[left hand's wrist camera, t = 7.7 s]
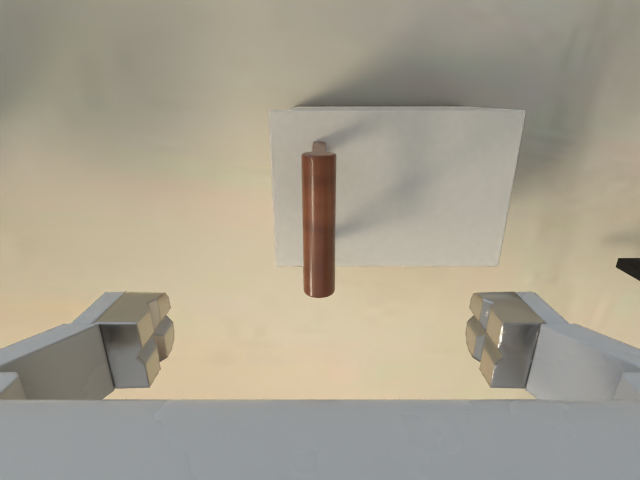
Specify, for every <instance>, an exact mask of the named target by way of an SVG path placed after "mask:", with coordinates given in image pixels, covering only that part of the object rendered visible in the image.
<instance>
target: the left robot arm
mask: <svg viewBox="0 0 640 480" xmlns="http://www.w3.org/2000/svg"><path fill="white" fill-rule="evenodd" d="M170 308H171V307H170V302H169V297H168V296H167V294H166V293H155V292H105V293H104V294H103V295H102V296H101V297H100V298H99V299H98V300H96V301H95V302H94V303H93V304H92V305H91V306H90V307H89V308H88V309H86V310H85V311H84V312H83V313H82V314H81V315H80V316H79V317H78V318H76V319H75V320H74V321H73V322H72V323H71V324H63V325H60V326H58V327H55V328H53V329H50V330H47V331H45V332H42V333H40V334H37V335H35V336H32V337H30V338H27V339H25V340H22V341H20V342H17V343H15V344H12V345H10V346H7V347H5V348H2V349H0V480H640V349H638V348H635V347H633V346H630V345H628V344H625V343H623V342H620V341H618V340H615V339H613V338H610V337H608V336H605V335H603V334H600V333H597V332H595V331H592V330H590V329H587V328H585V327H582V326H580V325H577V324H569V323H568V322H567V321H566V320H565V319H564V318H563V317H561V316H560V315H559V314H558V313H557V312H556V311H555V310H554V309H553V308H551V307H550V306H549V305H548V304H547V303H546V302H545V301H544V300H543V299H541V298H540V297H539V296H538V295H537V294H536V293H534V292H488V293H474V294H473V295H472V298H471V301H470V307H469V308H470V310H471V311H472V313H473V314H474V315H473V316H472V318H471V319H470V320H469V321H468V322H467V326H466V343H467V346H468V349H469V352H470V354H471V355H472V357H473V358H474V359H476V360H478V361H479V362H480V368H479V369H480V371H481V373H482V374H483V376H484V378H485V379H486V381H487V383H488V384H489V386H490V388H526V391H528V392H529V393H530V394H532V395H533V396H534V397H536V398H537V399H533V400H102V399H103V398H104V397H106V396H107V395H109V394H110V393H111V392H113V391H114V388H150V386H151V384H152V383H153V381H154V379H155V378H156V376H157V374H158V373H159V371H160V369H161V368H160V362H161V361H162V360H164V359H166V358H167V357H168V355H169V354H170V352H171V350H172V346H173V342H174V325H173V322H172V321H171V320H170V319H169V318H168V316H167V315H166V314H167V313H168V311H169V310H170Z"/></svg>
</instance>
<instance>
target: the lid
mask: <svg viewBox="0 0 640 480" xmlns="http://www.w3.org/2000/svg"><path fill="white" fill-rule="evenodd" d="M525 115H526V110H271V111H269V128H270V149H271V170H272V191H273V212H274V234H275V255H276V266H277V267H303V274H304V292H305V293H306V294H307V295H308V296H311V297H315V298H323V297H328V296H330V295H332V294H333V293H334V290H335V267H485V266H498V264H499V259H500V253H501V248H502V242H503V237H504V231H505V226H506V220H507V214H508V209H509V203H510V198H511V192H512V187H513V181H514V176H515V170H516V165H517V159H518V154H519V148H520V143H521V137H522V132H523V126H524V121H525Z"/></svg>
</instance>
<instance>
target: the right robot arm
mask: <svg viewBox="0 0 640 480" xmlns="http://www.w3.org/2000/svg"><path fill="white" fill-rule="evenodd" d="M616 267H617V268H618V269H620V270H622V271H624V272H625V273H627V274H629V275H631V276H632V277H634V278H636V279H637V280H639V281H640V258H618V261H617V265H616Z"/></svg>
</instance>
